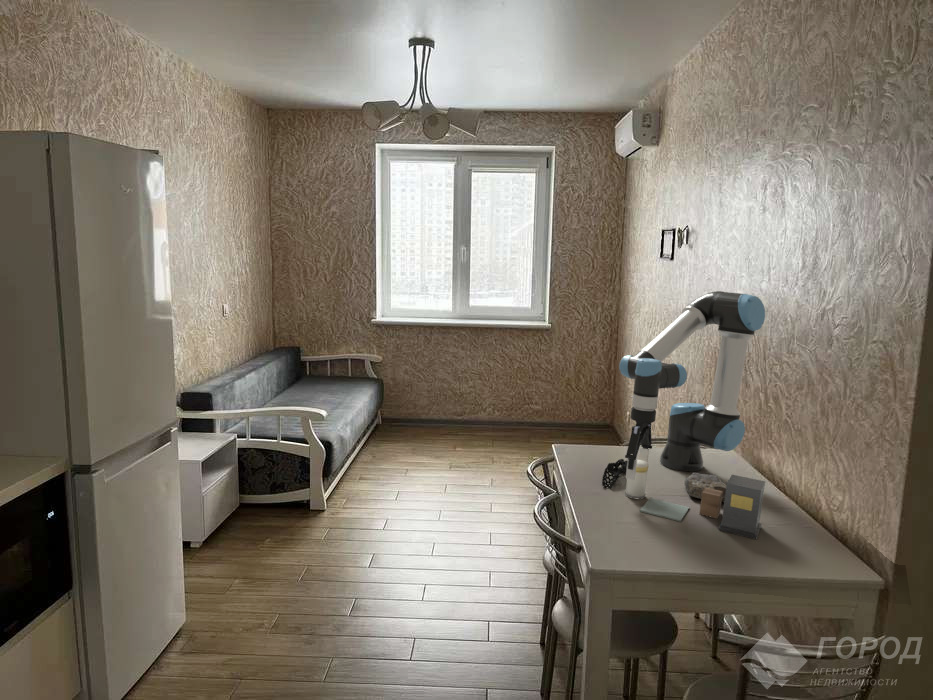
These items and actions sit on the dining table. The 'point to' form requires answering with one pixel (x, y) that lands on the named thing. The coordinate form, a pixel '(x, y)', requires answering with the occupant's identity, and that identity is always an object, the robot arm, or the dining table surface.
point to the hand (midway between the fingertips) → (636, 473)
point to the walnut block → (711, 502)
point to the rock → (703, 484)
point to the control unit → (742, 506)
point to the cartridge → (637, 481)
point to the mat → (665, 509)
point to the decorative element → (614, 472)
